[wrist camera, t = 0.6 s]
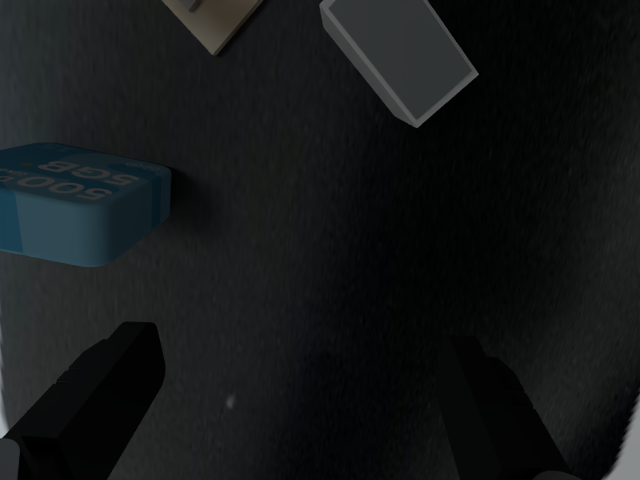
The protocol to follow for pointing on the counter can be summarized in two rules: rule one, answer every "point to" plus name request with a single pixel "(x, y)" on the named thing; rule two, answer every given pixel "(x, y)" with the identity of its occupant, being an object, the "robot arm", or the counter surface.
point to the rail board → (213, 19)
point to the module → (400, 53)
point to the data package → (78, 203)
